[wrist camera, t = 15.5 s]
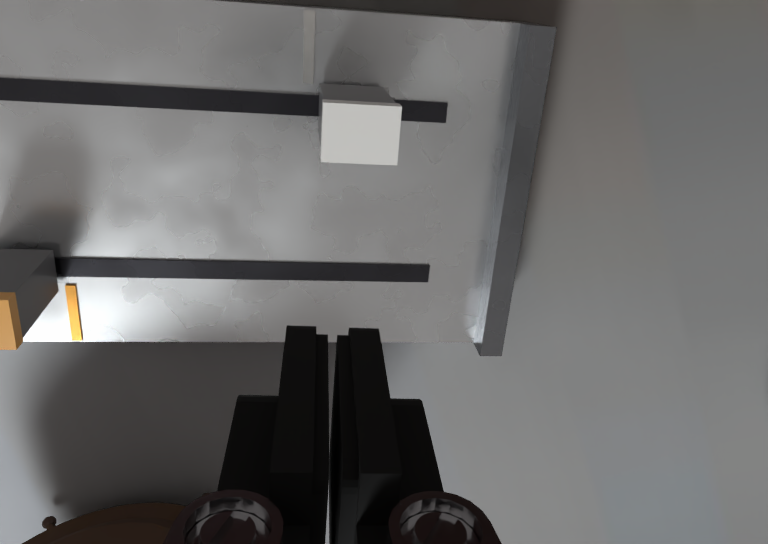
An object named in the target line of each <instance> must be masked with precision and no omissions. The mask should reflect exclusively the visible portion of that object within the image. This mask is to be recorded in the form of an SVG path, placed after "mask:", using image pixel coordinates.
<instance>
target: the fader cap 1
mask: <svg viewBox="0 0 768 544" xmlns="http://www.w3.org/2000/svg"><path fill="white" fill-rule="evenodd" d="M58 291H59V289H58V282H57V274H56V267H55V260H54V252H53V250H36V249H0V350H17V349H18V347H19V346H20V345H21V343H22V342H23V337H24V336H25V335H26V333H27V332H28V331H29V329H30V328H31V327H32V325H33V324H34V323H35V321H36V320H37V319H38V318H39V316H40V315H41V314H42V312H43V311H44V310H45V308H46V307H47V306H48V304H49V303H50V302H51V300H52V299H53V298H54V297H55V295H56V294H57V293H58Z"/></svg>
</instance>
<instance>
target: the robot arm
mask: <svg viewBox="0 0 768 544" xmlns="http://www.w3.org/2000/svg"><path fill="white" fill-rule="evenodd" d="M328 485H329V543H330V544H502V543H501V542H500V540H499V538H498V536H497V534H496V532H495V530H494V528H493V526H492V524H491V522H490V521H489V519H488V518H487V516H486V515H485V514H484V512H483V511H482V510H481V509H480V508H478V507H477V506H476V505H474V504H473V503H472V502H471V501H469V500H466V499H464V498H462V497H460V496H458V495H455V494H451V493H447V492H444V491H443V487H442V482H441V478H440V474H439V470H438V466H437V461H436V457H435V453H434V449H433V445H432V440H431V436H430V432H429V428H428V424H427V420H426V415H425V411H424V407H423V404H422V401H421V400H420V399H391V398H390V394H389V388H388V381H387V375H386V369H385V363H384V357H383V350H382V344H381V338H380V332H379V329H378V328H349V331H348V335H337V343H336V359H335V375H334V391H333V407H332V423H331V439H330V455H329V393H328V335H327V334H316V326H292V325H287V327H286V335H285V344H284V353H283V362H282V370H281V379H280V388H279V396H261V395H239V396H238V398H237V402H236V406H235V411H234V416H233V420H232V425H231V430H230V434H229V439H228V443H227V448H226V453H225V457H224V462H223V467H222V471H221V476H220V480H219V485H218V490H217V492H213V493H209V494H207V495H205V496H202V497H200V498H198V499H196V500H194V501H193V502H191V503H190V504H189V505H188V506H186V507H185V508H184V509H182V511H181V512H180V513H179V515H178V516H177V518H176V519H175V520H174V522H173V524H172V526H171V528H170V530H169V532H168V534H167V536H166V538H165V540H164V542H163V544H325V534H326V518H327V502H328Z"/></svg>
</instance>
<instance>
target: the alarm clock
mask: <svg viewBox="0 0 768 544" xmlns="http://www.w3.org/2000/svg"><path fill="white" fill-rule="evenodd" d="M207 494H209V493H205V494H203V495H202V496H205V495H207ZM185 507H186V506H182V505H177V504H169V503H136V504H128V505H121V506H116V507H111V508H107V509H103V510H99V511H95V512H92V513H89V514H85V515H82V516H79V517H77V518H74V519H71V520H69V521H66V522H64V523H62V524H59V525H57V526H55V524H56V518H55V517H52V516H50V517H46V518H45V519H44V521H43V522H42V526H43V528H46V529H47V530H46V531H44V532H42V533H40V534H38V535H36V536H35V537H33V538H31V539H29V540H28V541H26V542H24V543H22V544H163V542H164V540H165V538H166V536H167V534H168V532H169V530H170V528H171V526H172V524H173V522H174V520H175V519H176V518H177V516H178V515H179V513H180V512H181V511H182V509H184V508H185Z"/></svg>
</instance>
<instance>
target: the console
mask: <svg viewBox="0 0 768 544" xmlns="http://www.w3.org/2000/svg"><path fill="white" fill-rule="evenodd" d="M556 28H557V27H553V26H547V25H542V24H536V23H530V22H520V21H506V20H493V19H480V18H467V17H453V16H440V15H427V14H413V13H400V12H387V11H373V10H360V9H347V8H333V7H320V6H307V5H293V4H280V3H267V2H253V1H240V0H0V249H36V250H53V252H54V260H55V267H56V274H57V282H58V289H59V291H58V293H57V294H56V295H55V297H54V298H53V299H52V300H51V302H50V303H49V304H48V306H47V307H46V308H45V310H44V311H43V312H42V314H41V315H40V316H39V318H38V319H37V320H36V321H35V323H34V324H33V325H32V327H31V328H30V329H29V331H28V332H27V333H26V335H25V336H24V337H23V342H285V335H286V327H287V325H292V326H316V334H327V335H328V342H337V335H348V331H349V328H378V329H379V332H380V338H381V342H419V343H474V344H475V347H476V349H477V351H478V353H479V355H480V356H502V350H503V344H504V338H505V333H506V327H507V321H508V315H509V309H510V303H511V297H512V291H513V285H514V279H515V273H516V267H517V261H518V255H519V249H520V243H521V237H522V231H523V225H524V219H525V213H526V207H527V201H528V195H529V189H530V183H531V177H532V171H533V165H534V160H535V154H536V148H537V142H538V136H539V130H540V124H541V118H542V112H543V106H544V100H545V94H546V88H547V82H548V76H549V70H550V64H551V58H552V52H553V46H554V40H555V34H556ZM320 83H325V84H342V85H359V86H376V87H383V88H384V89H385V90H386V91H387V93H388V94H389V95H390V96H391V97H392V99H393V100H394V101H395V102H396V103H399V104H400V105H401V106H402V114H401V126H400V138H399V150H398V162H397V165H376V164H352V163H328V162H321V159H320V152H321V147H320V141H319V134H318V117H319V87H320Z"/></svg>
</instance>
